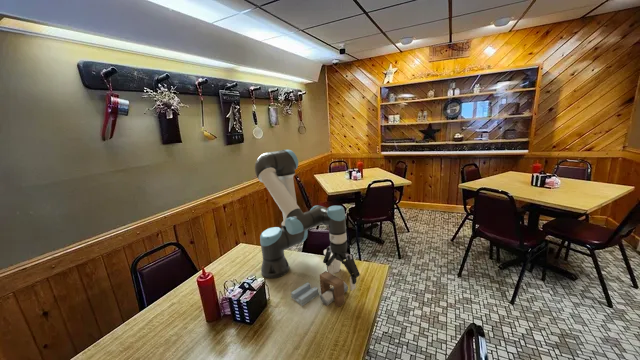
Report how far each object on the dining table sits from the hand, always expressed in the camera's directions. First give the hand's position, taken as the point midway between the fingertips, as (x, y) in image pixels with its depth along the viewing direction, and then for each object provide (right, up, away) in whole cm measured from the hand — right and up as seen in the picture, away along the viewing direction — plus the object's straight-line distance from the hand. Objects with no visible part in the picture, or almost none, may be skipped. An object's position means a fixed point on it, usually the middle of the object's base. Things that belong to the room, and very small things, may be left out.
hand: (341, 283), depth 117 cm
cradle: (-17, -6, +1) cm, 18 cm away
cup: (-2, -1, +19) cm, 20 cm away
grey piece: (-3, -4, -2) cm, 5 cm away
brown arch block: (-4, -6, -3) cm, 8 cm away
